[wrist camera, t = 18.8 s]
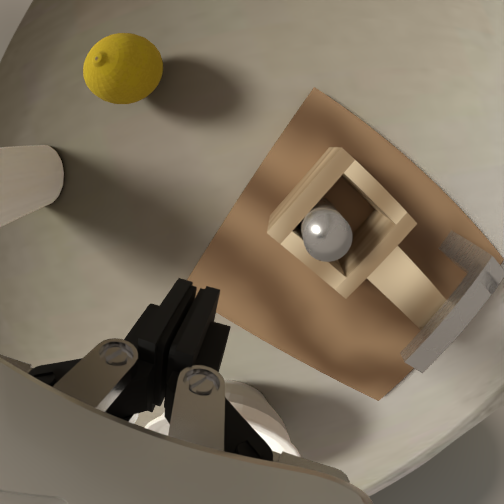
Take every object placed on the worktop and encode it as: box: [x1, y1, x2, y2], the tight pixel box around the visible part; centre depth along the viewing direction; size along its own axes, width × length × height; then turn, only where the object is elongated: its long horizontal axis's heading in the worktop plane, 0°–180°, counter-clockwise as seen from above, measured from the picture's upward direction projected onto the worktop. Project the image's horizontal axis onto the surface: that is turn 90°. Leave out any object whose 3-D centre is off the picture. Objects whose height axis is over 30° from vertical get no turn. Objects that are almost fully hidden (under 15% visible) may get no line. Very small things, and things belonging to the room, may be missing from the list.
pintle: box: [300, 196, 352, 262], centre depth 21 cm, size 3×3×7 cm
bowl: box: [144, 380, 301, 457], centre depth 29 cm, size 16×16×9 cm
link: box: [267, 147, 446, 330], centre depth 22 cm, size 17×7×5 cm, turn 51°
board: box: [187, 87, 504, 401], centre depth 26 cm, size 20×24×1 cm
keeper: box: [400, 230, 504, 373], centre depth 22 cm, size 10×2×7 cm, turn 147°
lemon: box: [83, 33, 163, 104], centre depth 19 cm, size 6×6×8 cm
